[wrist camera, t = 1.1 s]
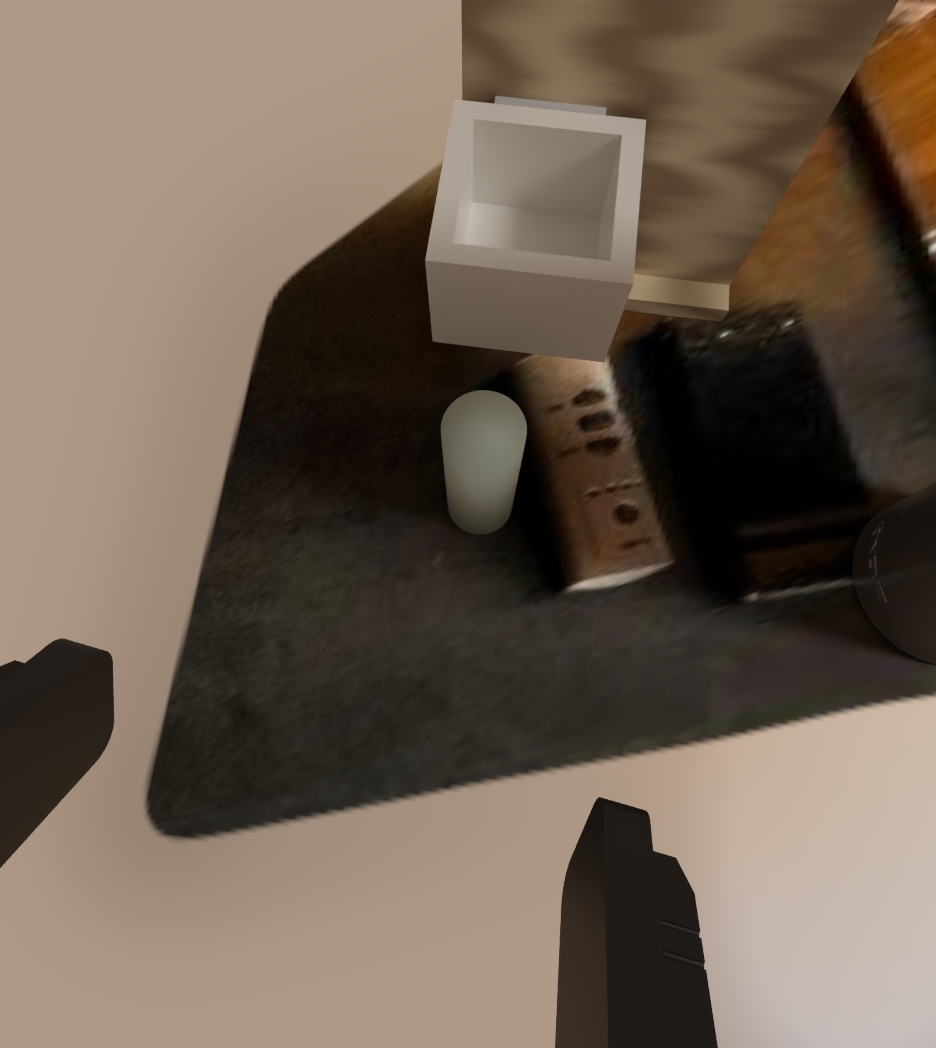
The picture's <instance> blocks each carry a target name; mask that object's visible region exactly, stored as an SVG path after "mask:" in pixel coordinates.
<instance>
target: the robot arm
mask: <svg viewBox="0 0 936 1048" xmlns="http://www.w3.org/2000/svg"><path fill="white" fill-rule="evenodd" d="M852 572H853V579H854V587H855V589H856V592H857V595H858V598H859V601H860V604H861V606H862V607H863V609H864V611H865V612H866V614H867V616H868V618H869V619H870V621H871V622H872V623H873V624H874V626H875V627H876V628H877V629H878V630H879V631H880V633H881V634H882V635H883V636H884V637H885V638H886V639H888V640H889V641H890V642H891V643H893V644H894V645H895V646H896V647H897V648H899V649H900V650H902V651H904V652H906V653H908V654H909V655H911V656H913V657H915V658H917V659H919V660H922V661H925V662H928V663H931V664H934V665H936V482H935V483H933V484H931V485H929V486H927V487H925V488H923V489H921V490H919V491H917V492H916V493H914V494H912V495H910V496H908V497H906V498H904V499H902V500H900V501H898V502H897V503H895V504H893V505H891V506H889V507H887V508H886V509H884V510H882V511H880V512H879V513H877V514H876V515H875V516H874V517H873V518H872V519H871V520H870V521H869V522H868V523H867V524H866V526H865V527H864V529H863V530H862V532H861V534H860V535H859V537H858V540H857V543H856V546H855V549H854V553H853V564H852ZM113 698H114V696H113V661H112V657H111V655H110V653H109V652H107V651H104V650H101V649H97V648H94V647H91V646H87V645H84V644H80V643H77V642H73V641H70V640H66V639H58V640H55V641H53V642H52V643H50V644H49V645H47V646H46V647H45V648H44V649H42V650H41V651H40V652H39V653H37V654H36V655H35V656H34V657H32V658H31V659H30V660H28V661H27V662H26V663H22V662H18V661H12V662H10V663H7V664H5V665H3V666H0V868H1V867H2V866H3V864H4V863H5V862H6V861H7V860H8V859H9V858H10V857H11V855H12V854H13V853H14V852H15V851H16V850H17V849H18V848H19V847H20V846H21V844H22V843H23V842H24V841H25V840H26V839H27V838H28V837H29V836H30V834H31V833H32V832H33V831H34V830H35V829H36V828H37V827H38V825H40V823H41V822H42V821H43V820H44V819H45V818H46V817H47V816H48V814H49V813H50V812H51V811H52V810H53V809H54V808H55V807H56V806H57V805H58V803H59V802H60V801H61V800H62V799H63V798H64V797H65V795H66V794H67V793H68V792H69V791H70V790H71V789H72V788H73V787H74V786H75V785H76V784H77V782H78V781H79V780H80V779H81V778H82V777H83V776H84V775H85V774H86V772H87V771H88V770H89V769H90V768H91V767H92V766H93V765H94V764H95V762H96V761H97V760H98V759H99V757H100V756H101V755H102V753H103V751H104V750H105V748H106V746H107V744H108V742H109V740H110V737H111V734H112V730H113V726H114V699H113ZM699 932H700V927H699V920H698V914H697V907H696V901H695V894H694V892H693V890H692V888H691V886H690V884H689V882H688V880H687V878H686V876H685V874H684V872H683V871H682V869H681V867H680V865H679V863H678V861H677V859H676V858H675V857H672V856H668V855H665V854H661V853H658V852H655V851H653V845H652V835H651V825H650V818H649V814H648V812H647V811H645V810H642V809H638V808H635V807H632V806H628V805H625V804H621V803H618V802H614V801H611V800H607V799H604V798H601V797H599V798H598V799H597V800H596V801H595V803H594V805H593V808H592V810H591V812H590V815H589V817H588V819H587V822H586V824H585V826H584V829H583V831H582V834H581V836H580V838H579V841H578V843H577V845H576V848H575V850H574V852H573V855H572V857H571V859H570V862H569V865H568V869H567V872H566V877H565V881H564V887H563V894H562V905H561V926H560V949H559V971H558V973H559V974H558V995H557V1017H556V1040H555V1048H718V1047H717V1040H716V1033H715V1027H714V1020H713V1013H712V1007H711V1000H710V993H709V987H708V980H707V973H706V970H704V963H705V960H704V954H703V947H702V940H701V938H699Z"/></svg>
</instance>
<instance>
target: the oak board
mask: <svg viewBox="0 0 936 1048" xmlns="http://www.w3.org/2000/svg"><path fill="white" fill-rule="evenodd" d="M897 2H898V0H462V91H463V92H462V94H463V100H465V101H474V102H484V103H493V104H494V102H495V96H502V97H511V98H521V99H530V100H539V101H549V102H558V103H568V104H577V105H587V106H596V107H606V116H616V117H625V118H634V119H644V120H646V127H645V140H644V153H643V165H642V178H641V191H640V203H639V216H638V229H637V241H636V254H635V267H634V279H633V286H632V289H631V291H630V294H629V297H628V299H627V302H626V305H625V307H624V311H632V312H641V313H649V314H658V315H666V316H675V317H683V318H692V319H700V320H709V321H717V322H721V321H722V320H723V318H724V317H725V315H726V314H727V312H728V310H729V285H730V283H731V281H732V280H733V278H734V276H735V275H736V273H737V271H738V270H739V268H740V266H741V265H742V263H743V261H744V260H745V258H746V256H747V254H748V253H749V251H750V249H751V248H752V246H753V244H754V243H755V241H756V239H757V238H758V236H759V234H760V233H761V231H762V229H763V228H764V226H765V224H766V222H767V221H768V219H769V217H770V216H771V214H772V212H773V211H774V209H775V207H776V206H777V204H778V202H779V201H780V199H781V197H782V196H783V194H784V192H785V191H786V189H787V187H788V185H789V184H790V182H791V180H792V179H793V177H794V175H795V174H796V172H797V170H798V169H799V167H800V165H801V164H802V162H803V160H804V159H805V157H806V155H807V153H808V152H809V150H810V148H811V147H812V145H813V143H814V142H815V140H816V138H817V137H818V135H819V133H820V132H821V130H822V128H823V127H824V125H825V123H826V121H827V120H828V118H829V116H830V115H831V113H832V111H833V110H834V108H835V106H836V105H837V103H838V101H839V100H840V98H841V96H842V95H843V93H844V91H845V89H846V88H847V86H848V84H849V83H850V81H851V79H852V78H853V76H854V74H855V73H856V71H857V69H858V68H859V66H860V64H861V63H862V61H863V59H864V57H865V56H866V54H867V52H868V51H869V49H870V47H871V46H872V44H873V42H874V41H875V39H876V37H877V36H878V34H879V32H880V31H881V29H882V27H883V25H884V24H885V22H886V20H887V19H888V17H889V15H890V14H891V12H892V10H893V9H894V7H895V5H896V4H897Z"/></svg>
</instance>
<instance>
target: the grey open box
mask: <svg viewBox="0 0 936 1048" xmlns="http://www.w3.org/2000/svg"><path fill="white" fill-rule="evenodd" d="M645 127H646V120H644V119H634V118H625V117H616V116H606V107H596V106H587V105H577V104H568V103H558V102H549V101H539V100H530V99H521V98H511V97H502V96H495V102H494V104H493V103H484V102H474V101H465V100H456V99H455V100H454V105H453V110H452V116H451V121H450V127H449V133H448V138H447V143H446V149H445V155H444V160H443V165H442V171H441V176H440V182H439V187H438V193H437V198H436V204H435V209H434V214H433V220H432V225H431V231H430V236H429V242H428V247H427V253H426V258H425V264H426V275H427V286H428V296H429V307H430V318H431V328H432V339H433V342H441V343H449V344H457V345H466V346H474V347H482V348H490V349H499V350H507V351H515V352H524V353H532V354H540V355H548V356H557V357H565V358H573V359H582V360H590V361H598V362H604V361H605V358H606V356H607V353H608V350H609V348H610V345H611V342H612V340H613V337H614V334H615V331H616V329H617V326H618V323H619V321H620V318H621V315H622V313H623V310H624V307H625V305H626V302H627V299H628V297H629V294H630V291H631V289H632V286H633V279H634V267H635V254H636V241H637V229H638V216H639V203H640V191H641V178H642V165H643V153H644V140H645Z"/></svg>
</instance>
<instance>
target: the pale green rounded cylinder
mask: <svg viewBox="0 0 936 1048" xmlns="http://www.w3.org/2000/svg"><path fill="white" fill-rule="evenodd" d="M526 436H527V425H526V420H525V417H524V415H523V413H522V411H521V409H520V408H519V407H518V405H517V404H516V403H515V402H514V401H512V400H511V399H510V398H508V397H507V396H505V395H503V394H500V393H497V392H494V391H486V390H481V391H473V392H470V393H467V394H465V395H462V396H461V397H459V398H457V399H456V400H455V401H454V402H453V403H452V404H451V405H450V406H449V407H448V409H447V410H446V412H445V414H444V416H443V419H442V423H441V440H442V450H443V461H444V471H445V482H446V493H447V503H448V511H449V514H450V517H451V519H452V520H453V522H454V523H455V524H456V525H457V526H458V527H459V528H460V529H462V530H463V531H465V532H468V533H471V534H475V535H485V534H490V533H493V532H495V531H497V530H498V529H500V528H501V527H502V526H503V525H504V524H505V523H506V522H507V520H508V518H509V516H510V514H511V510H512V505H513V500H514V495H515V490H516V485H517V480H518V475H519V470H520V465H521V461H522V456H523V451H524V446H525V441H526Z"/></svg>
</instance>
